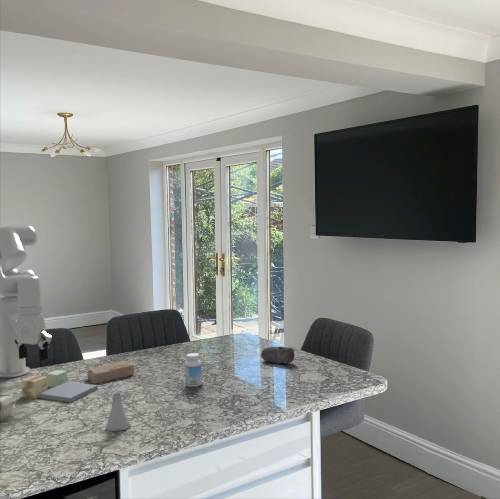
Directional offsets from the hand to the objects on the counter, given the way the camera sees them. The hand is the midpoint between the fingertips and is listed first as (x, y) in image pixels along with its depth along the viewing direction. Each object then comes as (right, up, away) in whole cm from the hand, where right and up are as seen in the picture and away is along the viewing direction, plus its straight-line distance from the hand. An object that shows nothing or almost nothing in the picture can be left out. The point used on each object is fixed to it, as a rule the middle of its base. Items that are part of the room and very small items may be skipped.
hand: (33, 358), depth 190 cm
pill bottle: (+56, -11, +7) cm, 58 cm away
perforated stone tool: (+88, -9, +33) cm, 94 cm away
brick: (+22, -12, +20) cm, 32 cm away
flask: (+38, -14, -30) cm, 50 cm away
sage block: (+4, -12, +11) cm, 17 cm away
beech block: (0, -13, +1) cm, 13 cm away
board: (+12, -13, +2) cm, 18 cm away
